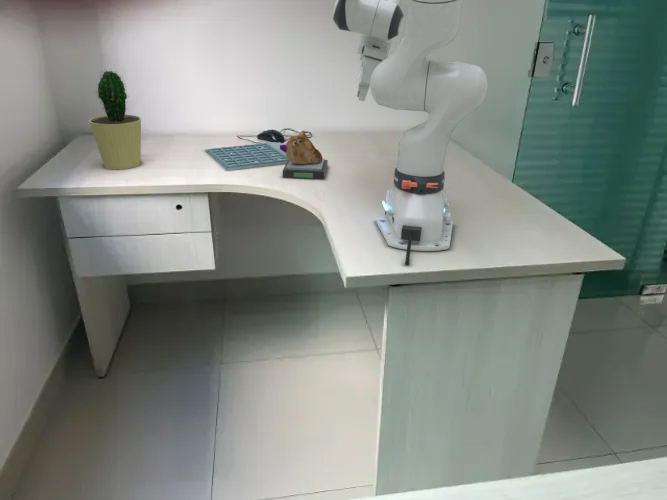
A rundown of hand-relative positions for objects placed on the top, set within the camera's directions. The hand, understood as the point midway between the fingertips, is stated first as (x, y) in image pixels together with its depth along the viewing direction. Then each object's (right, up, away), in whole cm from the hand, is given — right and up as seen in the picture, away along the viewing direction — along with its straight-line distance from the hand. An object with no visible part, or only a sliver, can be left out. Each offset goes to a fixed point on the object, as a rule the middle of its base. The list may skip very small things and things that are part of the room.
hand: (360, 99), depth 156 cm
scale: (-17, -20, +14) cm, 29 cm away
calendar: (-36, -12, +30) cm, 48 cm away
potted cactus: (-78, -17, +17) cm, 81 cm away
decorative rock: (-18, -18, +11) cm, 27 cm away
